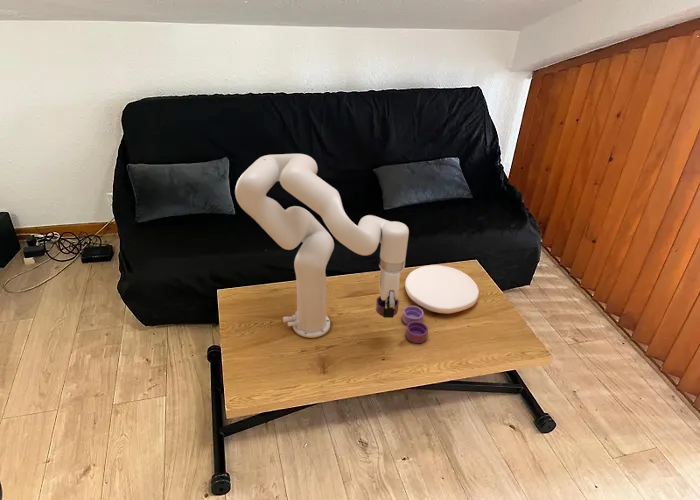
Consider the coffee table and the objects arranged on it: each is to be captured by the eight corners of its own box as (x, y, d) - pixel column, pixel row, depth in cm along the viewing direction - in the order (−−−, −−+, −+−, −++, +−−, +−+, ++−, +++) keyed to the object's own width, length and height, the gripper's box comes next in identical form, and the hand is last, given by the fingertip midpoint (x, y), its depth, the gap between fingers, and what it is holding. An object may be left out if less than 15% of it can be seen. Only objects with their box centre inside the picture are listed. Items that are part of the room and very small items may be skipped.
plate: (429, 254, 197) (492, 281, 184) (426, 268, 200) (487, 295, 187) (392, 280, 176) (459, 311, 163) (389, 295, 179) (455, 327, 166)
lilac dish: (406, 328, 167) (407, 319, 165) (399, 315, 172) (400, 306, 170) (425, 325, 168) (426, 317, 166) (418, 313, 174) (419, 304, 172)
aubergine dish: (379, 319, 151) (380, 309, 149) (373, 305, 157) (373, 296, 155) (400, 316, 153) (401, 307, 151) (393, 302, 159) (394, 293, 157)
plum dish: (409, 345, 160) (411, 336, 158) (402, 331, 165) (404, 322, 163) (429, 342, 161) (431, 333, 159) (422, 328, 167) (423, 320, 165)
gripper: (376, 246, 152) (372, 291, 162) (382, 279, 137) (377, 327, 147) (401, 246, 152) (395, 292, 162) (408, 279, 138) (402, 327, 148)
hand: (386, 308), depth 155 cm, fingers closed on aubergine dish, 7 cm apart
